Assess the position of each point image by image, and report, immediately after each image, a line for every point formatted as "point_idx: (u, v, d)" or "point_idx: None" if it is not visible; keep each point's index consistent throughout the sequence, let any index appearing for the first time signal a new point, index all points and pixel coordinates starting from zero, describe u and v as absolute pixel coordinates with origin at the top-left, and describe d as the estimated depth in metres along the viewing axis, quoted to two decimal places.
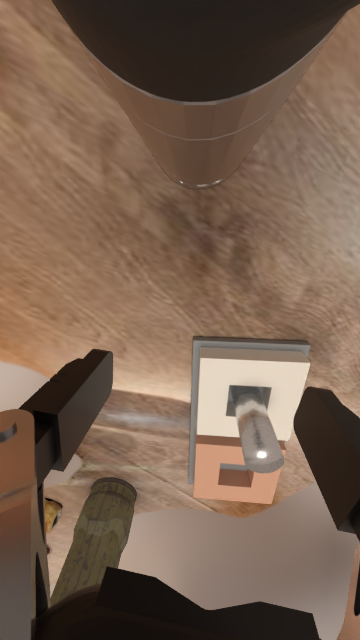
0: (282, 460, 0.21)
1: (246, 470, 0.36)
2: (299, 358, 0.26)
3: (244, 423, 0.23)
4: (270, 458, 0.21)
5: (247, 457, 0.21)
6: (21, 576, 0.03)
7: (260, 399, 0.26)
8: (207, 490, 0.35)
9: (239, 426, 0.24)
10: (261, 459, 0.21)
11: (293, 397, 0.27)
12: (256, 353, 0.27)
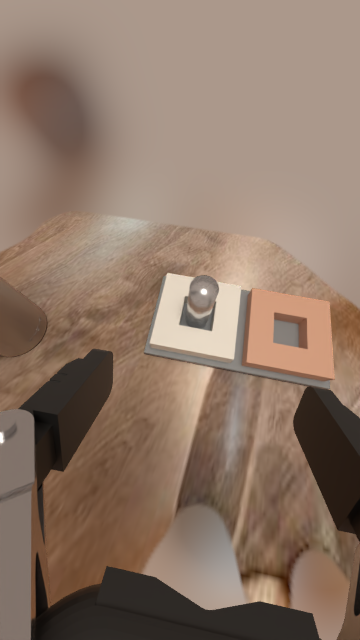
0: (204, 276, 0.28)
1: (297, 324, 0.37)
2: None
3: (191, 306, 0.30)
4: (202, 283, 0.28)
5: (199, 298, 0.27)
6: (21, 576, 0.03)
7: None
8: (319, 361, 0.32)
9: (196, 311, 0.30)
10: (202, 289, 0.27)
11: None
12: None
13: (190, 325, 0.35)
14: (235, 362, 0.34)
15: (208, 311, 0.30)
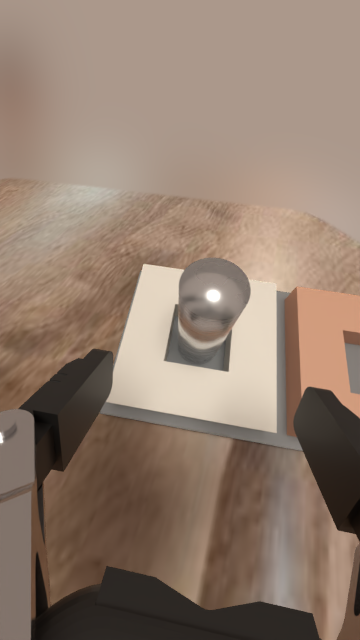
0: (214, 260, 0.12)
1: None
2: None
3: (184, 329, 0.14)
4: (208, 277, 0.12)
5: (204, 314, 0.11)
6: (21, 576, 0.03)
7: None
8: None
9: (196, 339, 0.14)
10: (210, 290, 0.11)
11: None
12: None
13: (186, 358, 0.19)
14: None
15: (222, 338, 0.14)
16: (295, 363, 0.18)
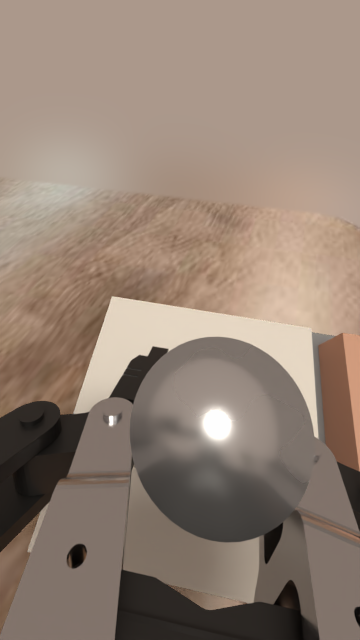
0: (219, 343, 0.05)
1: None
2: None
3: None
4: (206, 392, 0.05)
5: (192, 519, 0.04)
6: (113, 565, 0.03)
7: None
8: None
9: None
10: (209, 435, 0.04)
11: (187, 320, 0.13)
12: None
13: None
14: None
15: None
16: (348, 465, 0.11)
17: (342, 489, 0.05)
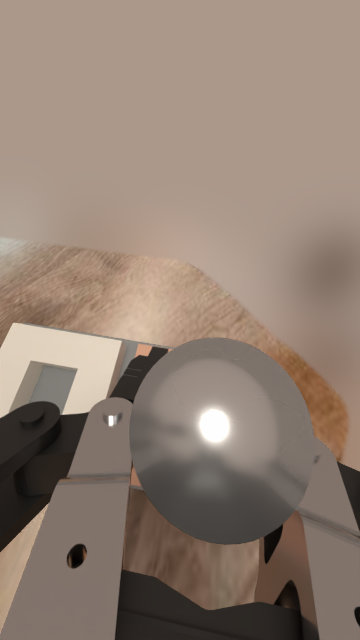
0: (219, 344, 0.05)
1: None
2: None
3: None
4: (205, 393, 0.05)
5: (192, 521, 0.04)
6: (113, 565, 0.03)
7: None
8: None
9: None
10: (209, 437, 0.04)
11: (53, 336, 0.24)
12: None
13: None
14: None
15: None
16: None
17: (342, 489, 0.05)
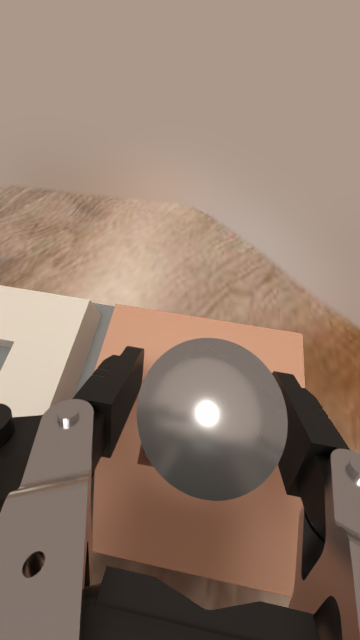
0: (210, 343, 0.06)
1: None
2: None
3: None
4: (199, 383, 0.06)
5: (187, 482, 0.05)
6: (75, 564, 0.03)
7: None
8: (267, 528, 0.10)
9: None
10: (202, 417, 0.05)
11: None
12: None
13: None
14: None
15: None
16: None
17: None
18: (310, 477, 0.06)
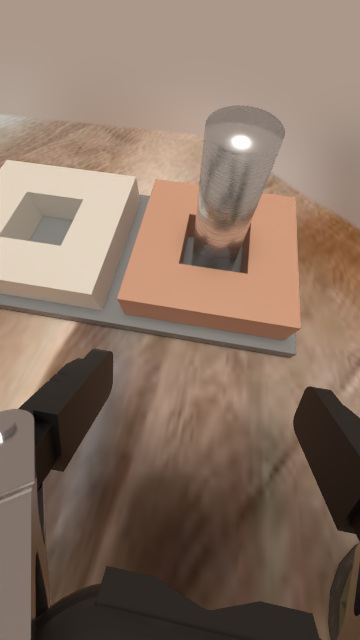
0: (242, 107, 0.11)
1: None
2: None
3: (207, 203, 0.13)
4: (237, 120, 0.10)
5: (235, 148, 0.10)
6: (21, 576, 0.03)
7: None
8: (269, 295, 0.15)
9: (219, 215, 0.13)
10: (240, 130, 0.10)
11: (53, 172, 0.20)
12: None
13: None
14: (114, 309, 0.18)
15: (247, 216, 0.13)
16: None
17: None
18: None
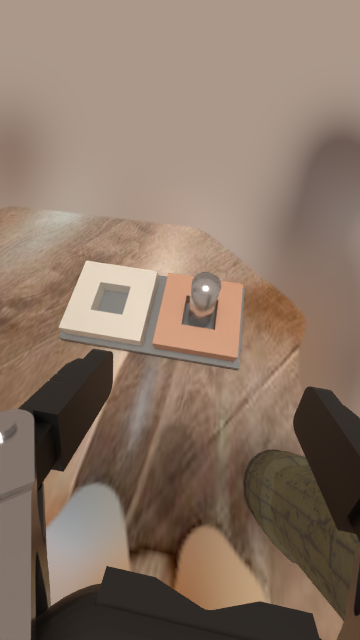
0: (205, 273, 0.28)
1: (214, 308, 0.37)
2: None
3: (193, 304, 0.30)
4: (203, 280, 0.28)
5: (202, 295, 0.27)
6: (21, 576, 0.03)
7: None
8: (224, 341, 0.32)
9: (199, 309, 0.30)
10: (204, 286, 0.27)
11: (113, 268, 0.37)
12: None
13: (193, 325, 0.35)
14: (148, 345, 0.35)
15: (211, 308, 0.30)
16: None
17: None
18: None
